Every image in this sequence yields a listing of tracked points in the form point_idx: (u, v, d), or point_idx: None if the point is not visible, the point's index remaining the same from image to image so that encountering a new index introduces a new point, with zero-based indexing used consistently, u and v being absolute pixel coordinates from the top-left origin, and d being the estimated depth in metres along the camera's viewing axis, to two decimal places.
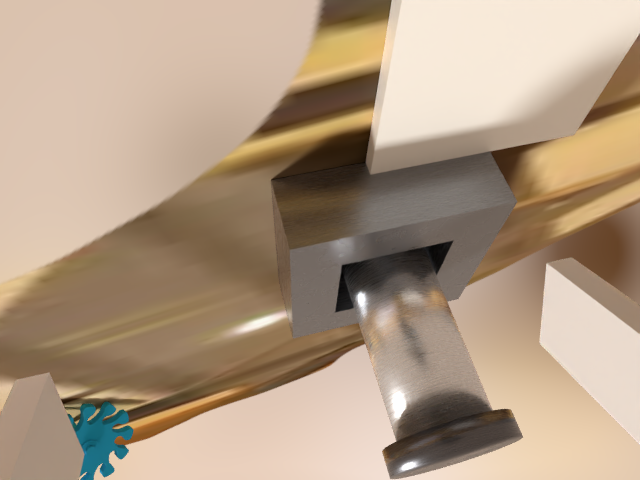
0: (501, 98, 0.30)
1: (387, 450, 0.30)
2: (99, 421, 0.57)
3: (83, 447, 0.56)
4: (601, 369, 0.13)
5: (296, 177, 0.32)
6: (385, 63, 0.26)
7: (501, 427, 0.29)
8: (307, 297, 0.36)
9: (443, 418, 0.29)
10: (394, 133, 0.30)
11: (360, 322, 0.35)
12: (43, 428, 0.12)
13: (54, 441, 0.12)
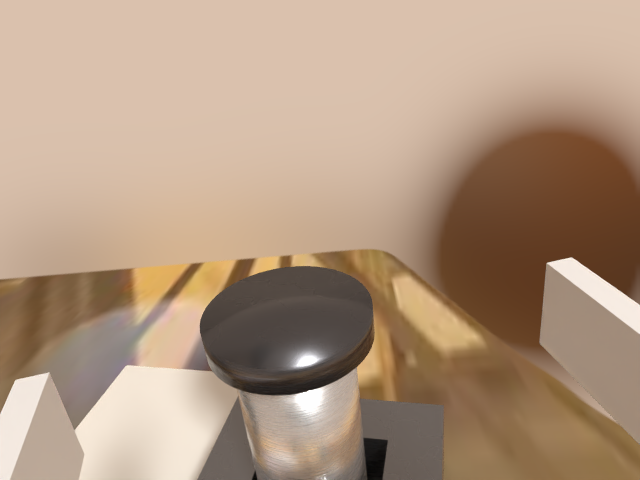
0: (187, 433, 0.40)
1: (245, 388, 0.22)
2: None
3: None
4: (601, 369, 0.13)
5: None
6: None
7: None
8: None
9: None
10: None
11: None
12: (43, 429, 0.12)
13: (54, 441, 0.12)
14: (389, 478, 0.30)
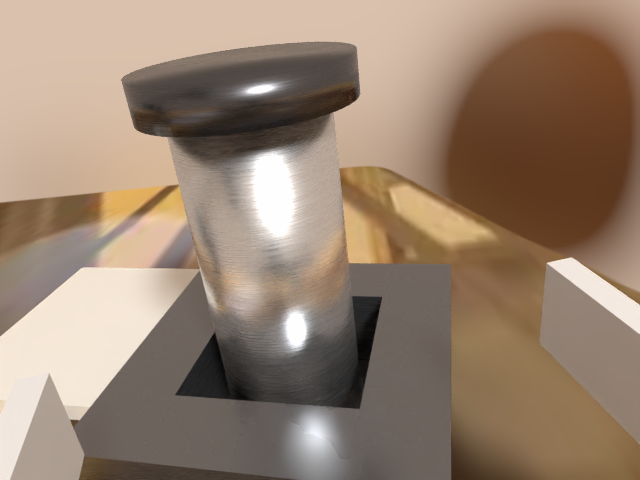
0: (144, 323, 0.34)
1: (176, 131, 0.16)
2: None
3: None
4: (601, 369, 0.13)
5: None
6: None
7: None
8: (243, 446, 0.19)
9: None
10: None
11: (252, 333, 0.20)
12: (43, 429, 0.12)
13: (54, 441, 0.12)
14: (384, 330, 0.24)
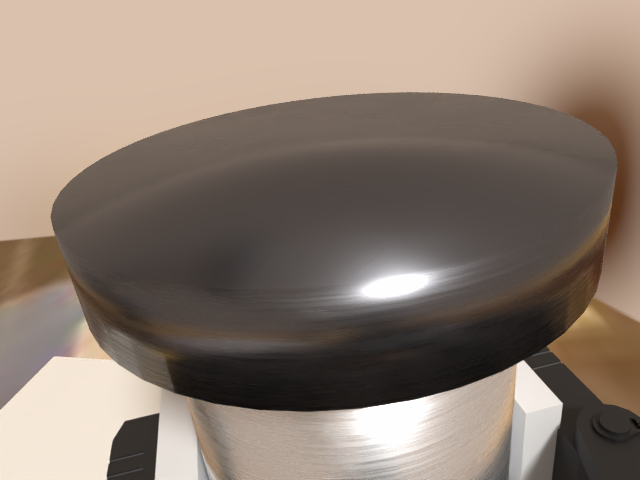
0: None
1: (184, 383, 0.06)
2: None
3: None
4: None
5: None
6: None
7: None
8: None
9: None
10: None
11: None
12: None
13: None
14: None
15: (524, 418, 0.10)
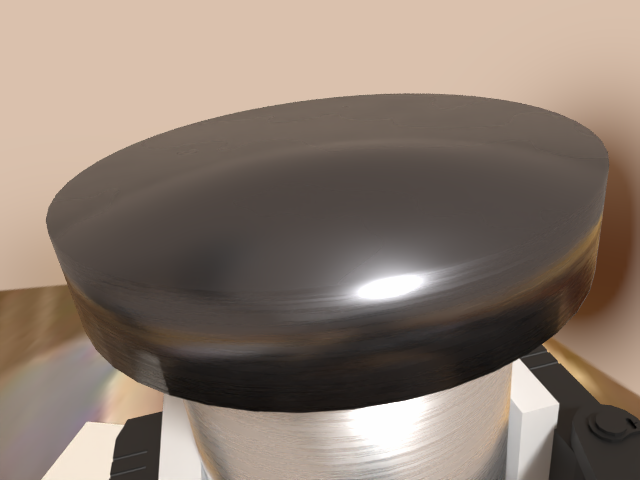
0: None
1: (178, 385, 0.06)
2: None
3: None
4: None
5: None
6: None
7: None
8: None
9: None
10: None
11: None
12: None
13: None
14: None
15: (521, 418, 0.10)
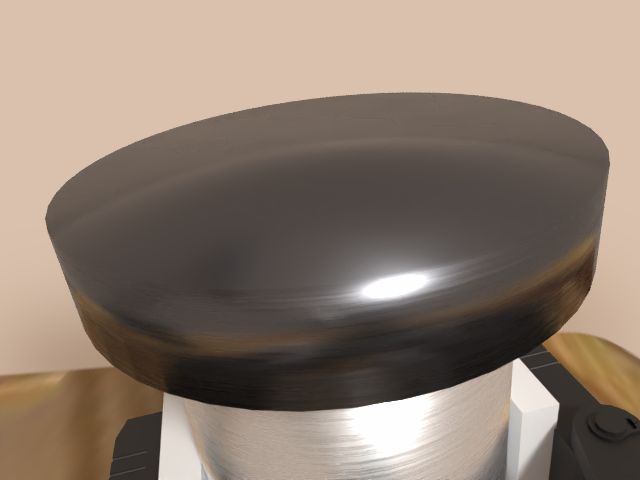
0: None
1: (178, 384, 0.06)
2: None
3: None
4: None
5: None
6: None
7: None
8: None
9: None
10: None
11: None
12: None
13: None
14: None
15: (521, 418, 0.10)
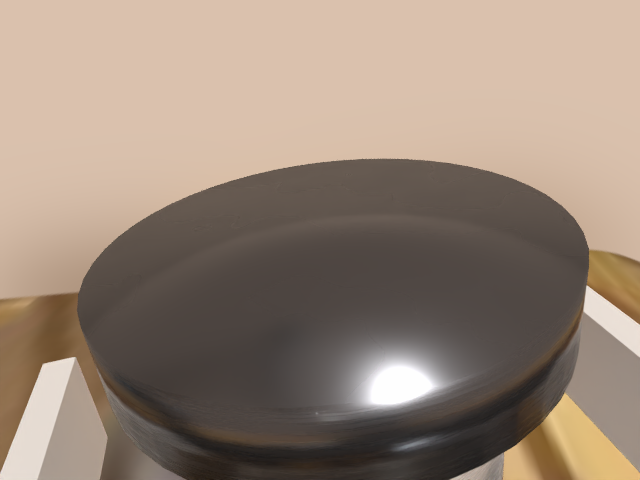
0: None
1: (201, 475, 0.06)
2: None
3: None
4: None
5: None
6: None
7: None
8: None
9: None
10: None
11: None
12: (71, 410, 0.12)
13: (81, 422, 0.12)
14: None
15: None
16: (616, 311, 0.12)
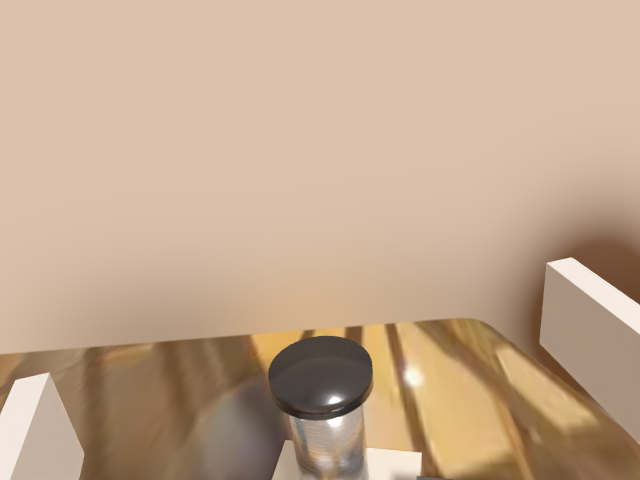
0: None
1: (298, 416, 0.38)
2: None
3: None
4: (601, 369, 0.13)
5: None
6: None
7: None
8: None
9: None
10: None
11: None
12: (43, 429, 0.12)
13: (54, 441, 0.12)
14: None
15: None
16: None
